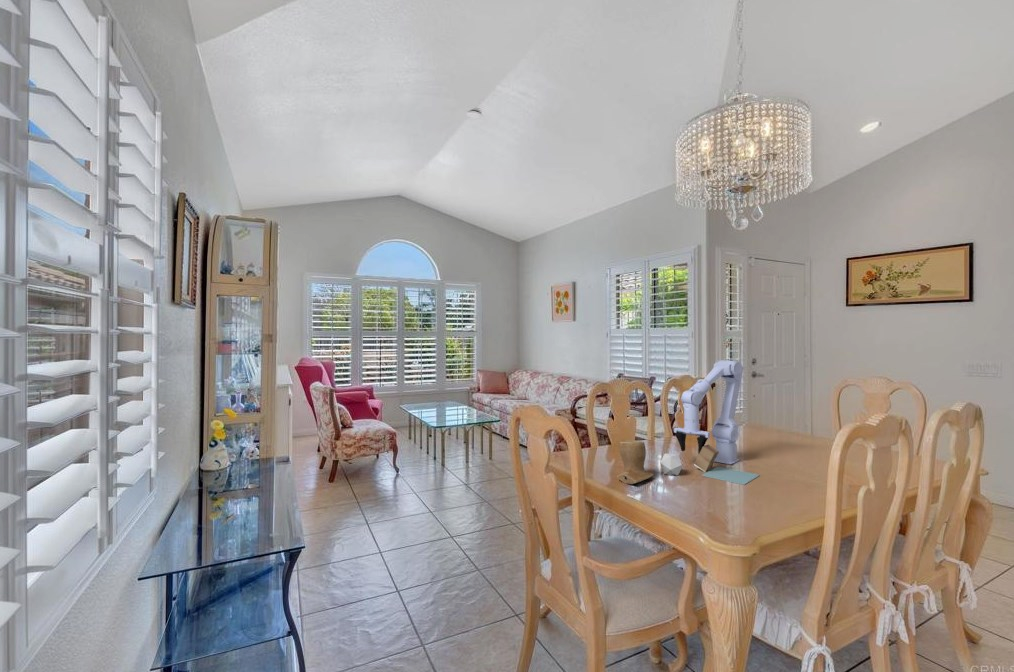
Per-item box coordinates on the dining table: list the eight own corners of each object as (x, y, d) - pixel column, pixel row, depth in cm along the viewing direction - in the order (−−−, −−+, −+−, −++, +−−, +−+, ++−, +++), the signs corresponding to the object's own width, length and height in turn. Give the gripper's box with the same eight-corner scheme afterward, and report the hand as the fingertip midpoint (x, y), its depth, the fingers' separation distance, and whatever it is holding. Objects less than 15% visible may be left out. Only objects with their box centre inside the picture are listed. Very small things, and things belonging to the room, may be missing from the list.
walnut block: (699, 462, 195) (708, 444, 193) (710, 469, 192) (719, 451, 189) (693, 464, 192) (702, 446, 189) (705, 472, 189) (714, 453, 186)
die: (684, 474, 189) (671, 452, 193) (689, 468, 181) (676, 446, 186) (666, 482, 188) (653, 460, 192) (671, 477, 180) (657, 454, 185)
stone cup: (630, 472, 190) (630, 435, 190) (657, 478, 181) (657, 440, 181) (608, 480, 179) (608, 441, 179) (635, 487, 171) (635, 446, 171)
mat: (718, 467, 195) (718, 466, 195) (759, 475, 184) (759, 474, 184) (701, 475, 184) (701, 474, 184) (744, 484, 172) (744, 484, 172)
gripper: (670, 418, 197) (670, 450, 198) (704, 423, 187) (704, 457, 187) (678, 416, 202) (678, 447, 202) (712, 420, 192) (712, 454, 192)
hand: (691, 452), depth 195 cm, fingers open, 7 cm apart
